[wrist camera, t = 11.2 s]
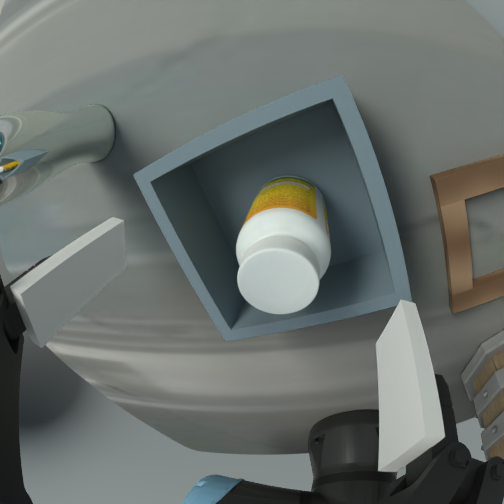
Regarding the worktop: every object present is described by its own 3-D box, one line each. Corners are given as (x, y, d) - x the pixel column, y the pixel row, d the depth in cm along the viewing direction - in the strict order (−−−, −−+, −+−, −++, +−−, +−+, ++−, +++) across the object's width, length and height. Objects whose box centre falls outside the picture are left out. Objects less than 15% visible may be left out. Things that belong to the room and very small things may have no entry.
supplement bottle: (338, 214, 22) (354, 297, 14) (283, 249, 24) (269, 338, 16) (296, 158, 20) (289, 213, 12) (240, 200, 23) (201, 273, 14)
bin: (395, 252, 23) (412, 301, 17) (249, 291, 28) (225, 341, 22) (338, 86, 18) (342, 74, 12) (181, 156, 24) (132, 174, 18)
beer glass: (124, 103, 23) (-21, 129, 10) (114, 172, 26) (-12, 233, 13) (76, 97, 23) (-49, 123, 10) (70, 158, 27) (-43, 206, 14)
